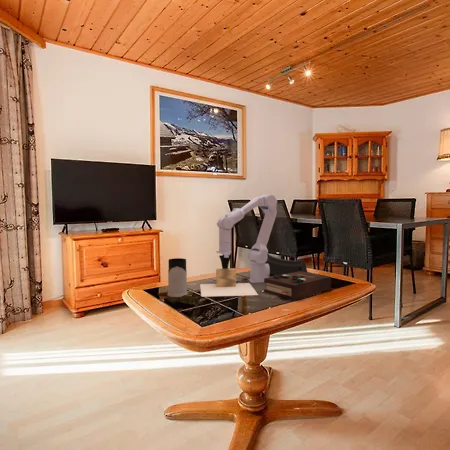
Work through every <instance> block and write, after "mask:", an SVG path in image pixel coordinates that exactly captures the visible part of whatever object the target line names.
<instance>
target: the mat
mask: <svg viewBox="0 0 450 450" xmlns="http://www.w3.org/2000/svg"><path fill="white" fill-rule="evenodd" d="M199 286H200V287H199V288H200V296H201V297H203V298H205V297H207V298H208V297H209V298H210V297H239V296H240V297H241V296H243V297H244V296H259V293H257V291H256V290H255V288H254V287H253V286H252V284H251V282H238V283H237V282H236V287H216V283H201V284H199Z"/></svg>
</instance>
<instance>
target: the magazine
mask: <svg viewBox="0 0 450 450" xmlns="http://www.w3.org/2000/svg"><path fill="white" fill-rule="evenodd" d="M267 257H268V258H267V261H266V262H265V264H269V268H270V275H273V274H274V275H283V274H288V273H293V272H298V271H302V272H308V269H307V265H306V262H305V260H304V259H300V260H290V259H283V258H278V257H275V256H273V255H270V254H269V252H268V253H267Z"/></svg>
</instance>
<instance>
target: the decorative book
mask: <svg viewBox="0 0 450 450" xmlns="http://www.w3.org/2000/svg"><path fill="white" fill-rule="evenodd" d="M267 276H270V277H268V278H264V282H263V283H266V284H264V286H266V289H263V292H265V293H268V294H270V295H274V296H278V297H279V298H283V299H286V300H290V301H292V302H296V301H295V300H297V301H299V299H300V300H303V299H302V298H304V297H307V298H309V297H308V296H310V295H313V294H316V293H319V292H322V291H324V290H327V289H330V288H332V286H331V285H332V276H328V275H324V274H323V275H322V274H318V273H317V274H316V273H312V272H308V271H307V272H302V271H298V272H293V273H288V274H283V275H273V274H270V275H267ZM304 299H305V298H304Z"/></svg>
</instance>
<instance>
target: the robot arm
mask: <svg viewBox="0 0 450 450" xmlns="http://www.w3.org/2000/svg"><path fill="white" fill-rule="evenodd" d="M277 204H278V199H277V198H276V196H275V195H274V194H272V193H268V194H259V195H258V196H255V197H254V198H253V199H251V200H250V201H249V202H248V203H246V204H245V205H243V206H241V208H239V207H236V208H235V207H234V208H233V209H232V211H230V212H229V213H225V216H224V217H223V216H220V218H219V219H218V220H217V222H216V225H217V227H218V250H217V251H216V253H217V254H220V255H219V256H218V257H219V259H220V262H221V267H222V268H221V269H229V264H230V261H231V259H232V255H231V254H232V228H233V227H234V225H236V224H237V223H238V222H240V221H241V220H242V219H244V218H245V215H246V214H247V213H248V212H250V211H252V210H253V209H255V208H257V207H259V208H260V209H261V210H262V211H263V213H264V217H263V220H262V224H261V227H260V229H259V233H258V236H257V239H256V243H254V244H253V245H252V247H251V249H250V250H249V252H248V254H247V259H248V260H249V261H250V272H249V273H250V274H249V275H250V278H248V281H249V283H250V284H251V283H253V284H254V283H255V284H256V283H265V282H264V278H268V277H271V276H267V275H271V273H270V268H269V264H265V262H266V261H267V258H268V257H267V253H268V254H269V249H268V247H267V245H268V242H269V240H270V235H271V232H272V231H273V226H274V224H275V221H276V217H277V214H278V212H277Z"/></svg>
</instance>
